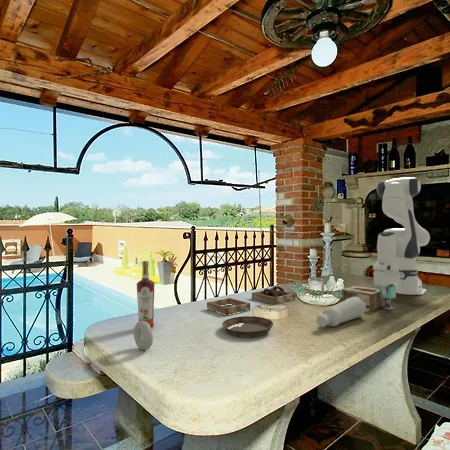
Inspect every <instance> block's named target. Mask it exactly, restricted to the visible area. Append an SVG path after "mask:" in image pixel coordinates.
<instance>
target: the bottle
mask: <svg viewBox="0 0 450 450" xmlns="http://www.w3.org/2000/svg"><path fill="white" fill-rule="evenodd" d="M366 311H367V306H366V303H365V302H364V301H363V300H361V299H360V298H359V296H358V297H351V298H348V299H346V300H345V301H343V302H342V301H341V302H339V303H337V304H334V305H333V306H331V307H325V309H323V312H322V314H320V315H318V316H317V317H316V319H315V320H316V324H317V325H318V326H319V327H320V328H325V327H326V326H328V327H332V328H335V327H337V326H338V325H340V324H343V323H345V322H349V321H351V320H354V319H358V318H360V317H363V315H364V313H365V312H366Z"/></svg>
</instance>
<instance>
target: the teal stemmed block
mask: <svg viewBox="0 0 450 450" xmlns="http://www.w3.org/2000/svg"><path fill="white" fill-rule="evenodd" d="M379 289H380V297H383V298H385V306H383V307H382V310H384V311H393V310H394V306H392V304H391V303H392V302H391V299H395V298H397V293H396V286H392V285H386V291H387V294H385V295H384V294H382V290H381V287H380V286H379Z"/></svg>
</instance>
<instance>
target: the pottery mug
mask: <svg viewBox="0 0 450 450" xmlns="http://www.w3.org/2000/svg"><path fill="white" fill-rule="evenodd" d="M275 290H279V291H282V292H283V293H279V294H278V295H277V292H275ZM262 291H263V293H264V295H266V296H271V297H280V296H284V292H285V289H284V288H283V287H281V286H278V285H273V286H272V287H270V288H268V287H267V288H264V289H263V290H262ZM266 291H267V292H268V293H266Z"/></svg>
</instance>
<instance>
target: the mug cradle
mask: <svg viewBox="0 0 450 450" xmlns="http://www.w3.org/2000/svg"><path fill="white" fill-rule="evenodd" d="M275 292H277V295H278V294H279V293H283V292H282V291H280V290H279V289H277V290H275ZM266 293H268V292H267V291H266ZM295 297H296V294H295V293H293V292H288V291H284V296H280V297H273V296H266V295H264V293H263V290H259V291H253V292H251V299H252V298H253V299H252V300H255V299H256V301H260V302H263V303H267V304H271V303H272V305H275V304H276V305H280V304H284V303H288V302H291V301H295V300H296V298H295Z"/></svg>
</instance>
